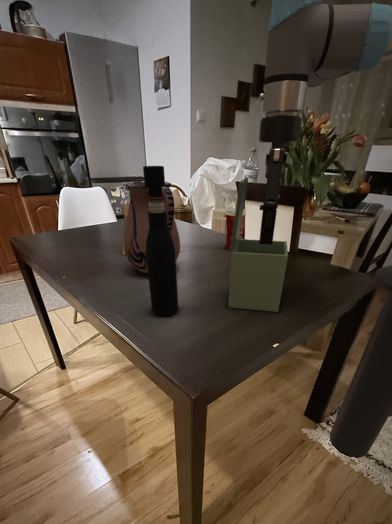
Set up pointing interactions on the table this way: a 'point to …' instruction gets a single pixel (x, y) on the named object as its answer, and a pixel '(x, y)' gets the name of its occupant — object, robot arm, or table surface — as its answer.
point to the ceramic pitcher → (145, 223)
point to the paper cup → (230, 223)
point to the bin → (257, 275)
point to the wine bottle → (160, 248)
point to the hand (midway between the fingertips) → (266, 236)
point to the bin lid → (239, 212)
